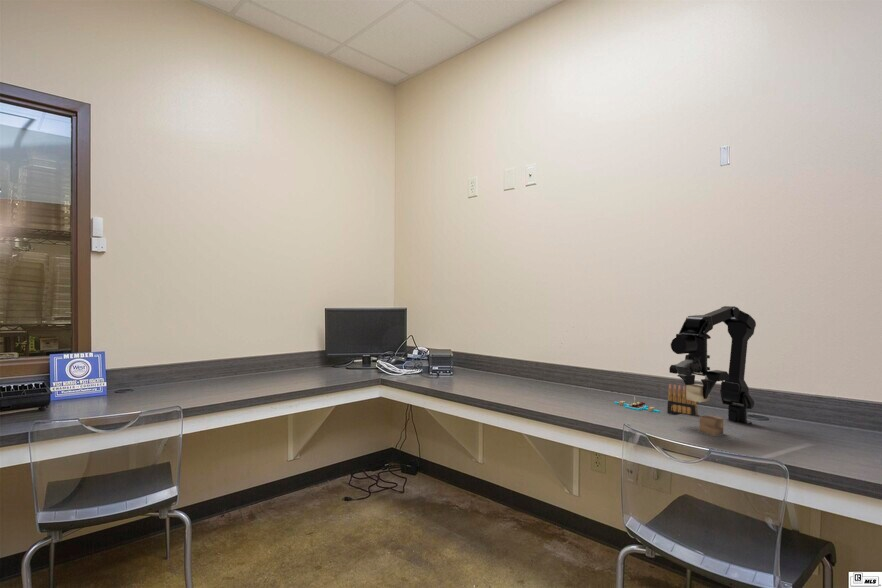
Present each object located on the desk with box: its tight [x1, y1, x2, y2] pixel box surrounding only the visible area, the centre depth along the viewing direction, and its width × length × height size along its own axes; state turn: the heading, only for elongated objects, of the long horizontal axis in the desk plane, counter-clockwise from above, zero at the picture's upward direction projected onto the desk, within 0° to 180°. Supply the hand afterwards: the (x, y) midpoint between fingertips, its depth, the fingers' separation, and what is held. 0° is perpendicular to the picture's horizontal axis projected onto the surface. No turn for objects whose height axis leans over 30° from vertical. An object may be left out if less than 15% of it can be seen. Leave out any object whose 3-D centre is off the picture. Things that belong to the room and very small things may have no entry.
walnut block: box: [698, 414, 724, 436], centre depth 153 cm, size 5×5×5 cm
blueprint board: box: [676, 424, 748, 443], centre depth 153 cm, size 16×16×1 cm
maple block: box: [685, 383, 710, 403], centre depth 157 cm, size 5×5×5 cm
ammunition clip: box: [666, 383, 698, 417], centre depth 178 cm, size 11×2×12 cm, turn 40°
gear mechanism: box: [614, 396, 661, 414], centre depth 191 cm, size 20×5×9 cm
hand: (698, 397), depth 157 cm, fingers closed on maple block, 5 cm apart
